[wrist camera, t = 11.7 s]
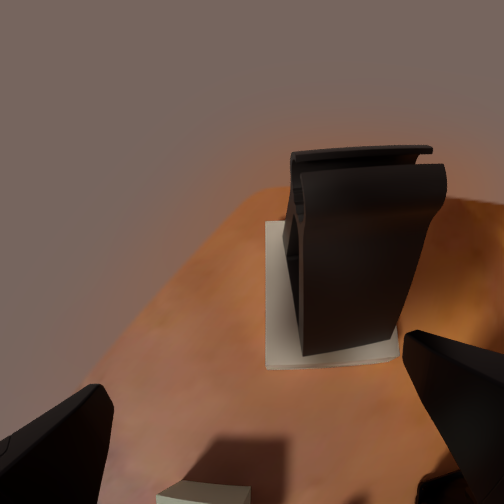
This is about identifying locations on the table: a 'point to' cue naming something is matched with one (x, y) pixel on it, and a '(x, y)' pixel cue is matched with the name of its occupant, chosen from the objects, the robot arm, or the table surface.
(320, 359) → the base block
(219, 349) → the table surface
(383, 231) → the phone stand
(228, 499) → the sage cube
